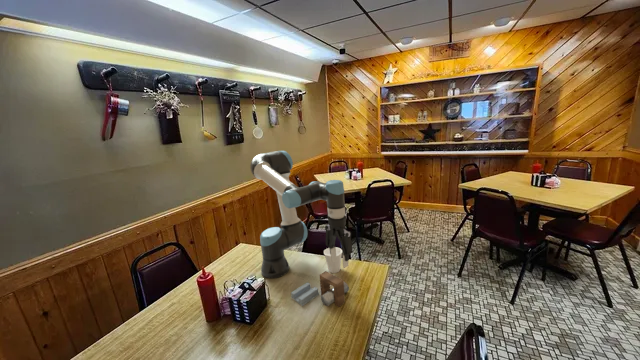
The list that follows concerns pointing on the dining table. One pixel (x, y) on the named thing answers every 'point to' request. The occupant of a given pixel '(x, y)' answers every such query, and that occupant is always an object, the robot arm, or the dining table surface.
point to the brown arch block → (336, 282)
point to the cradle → (304, 294)
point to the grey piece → (331, 295)
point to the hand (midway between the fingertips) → (339, 263)
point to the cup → (335, 265)
